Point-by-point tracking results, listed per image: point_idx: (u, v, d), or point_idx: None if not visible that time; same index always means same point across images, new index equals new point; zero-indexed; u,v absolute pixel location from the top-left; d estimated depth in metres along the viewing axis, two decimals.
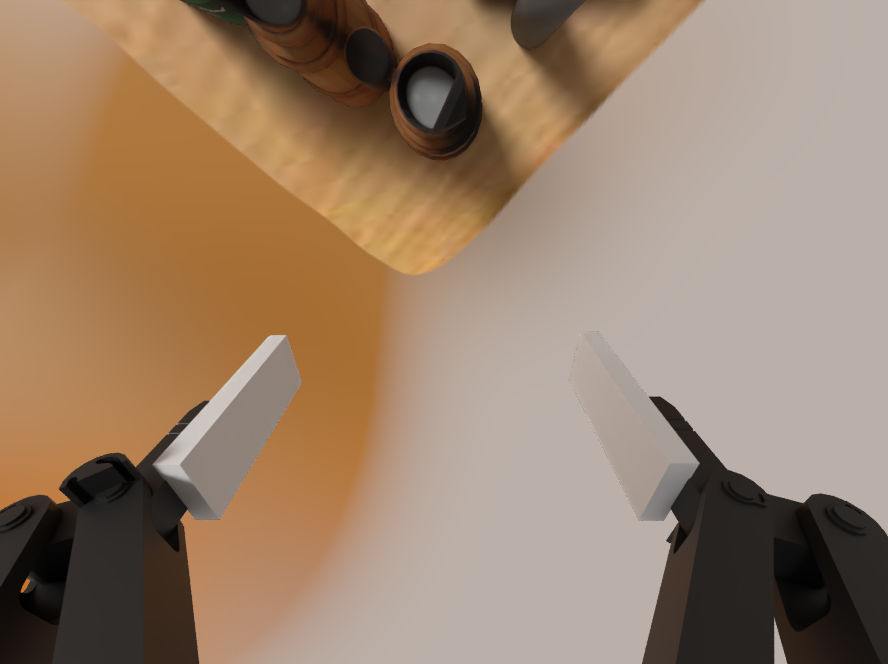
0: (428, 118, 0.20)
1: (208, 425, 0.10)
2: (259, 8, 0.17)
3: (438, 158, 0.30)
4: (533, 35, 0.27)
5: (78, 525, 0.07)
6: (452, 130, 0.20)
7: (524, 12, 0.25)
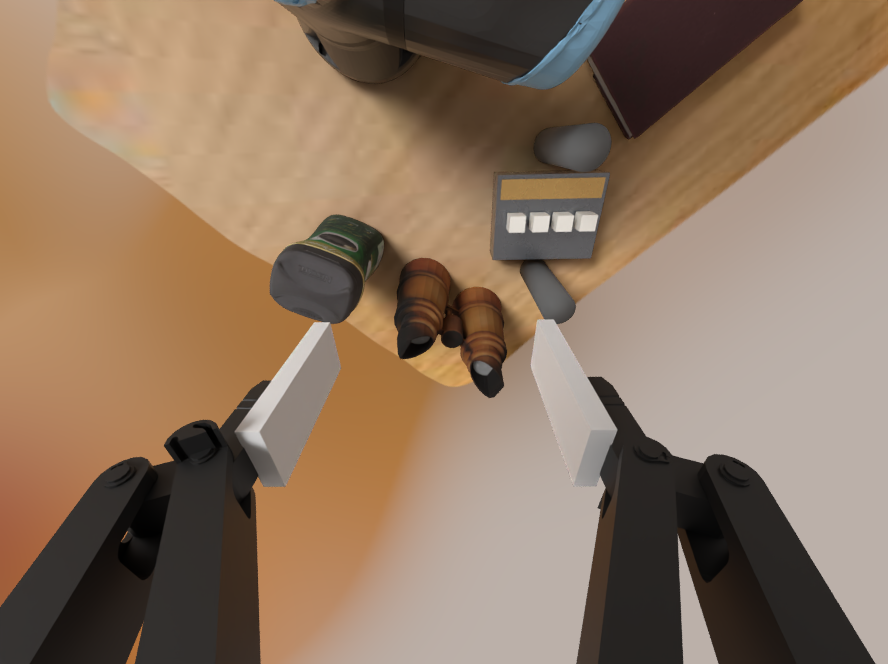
0: (482, 371, 0.41)
1: (276, 399, 0.11)
2: None
3: None
4: None
5: (175, 480, 0.08)
6: None
7: (528, 288, 0.46)
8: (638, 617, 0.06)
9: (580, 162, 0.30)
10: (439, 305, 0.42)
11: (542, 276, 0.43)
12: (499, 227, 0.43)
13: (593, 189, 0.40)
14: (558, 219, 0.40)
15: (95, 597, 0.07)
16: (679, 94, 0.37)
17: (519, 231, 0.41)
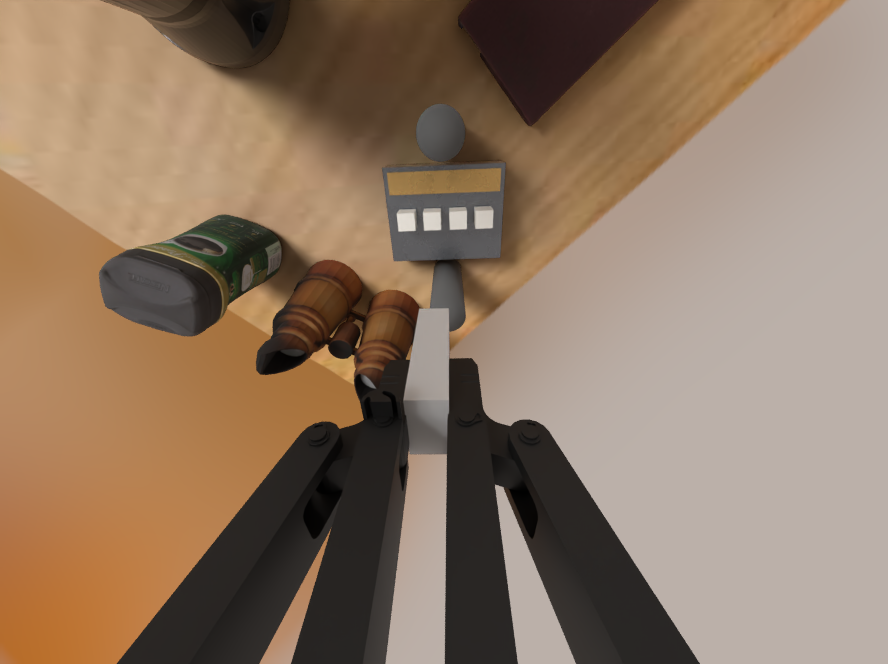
0: (373, 385, 0.38)
1: (424, 374, 0.12)
2: (285, 351, 0.35)
3: None
4: None
5: (361, 434, 0.09)
6: None
7: None
8: (472, 568, 0.06)
9: (434, 150, 0.26)
10: (325, 312, 0.38)
11: (441, 278, 0.39)
12: (394, 225, 0.39)
13: (489, 181, 0.37)
14: (450, 215, 0.36)
15: (282, 548, 0.07)
16: (573, 73, 0.33)
17: (409, 229, 0.37)
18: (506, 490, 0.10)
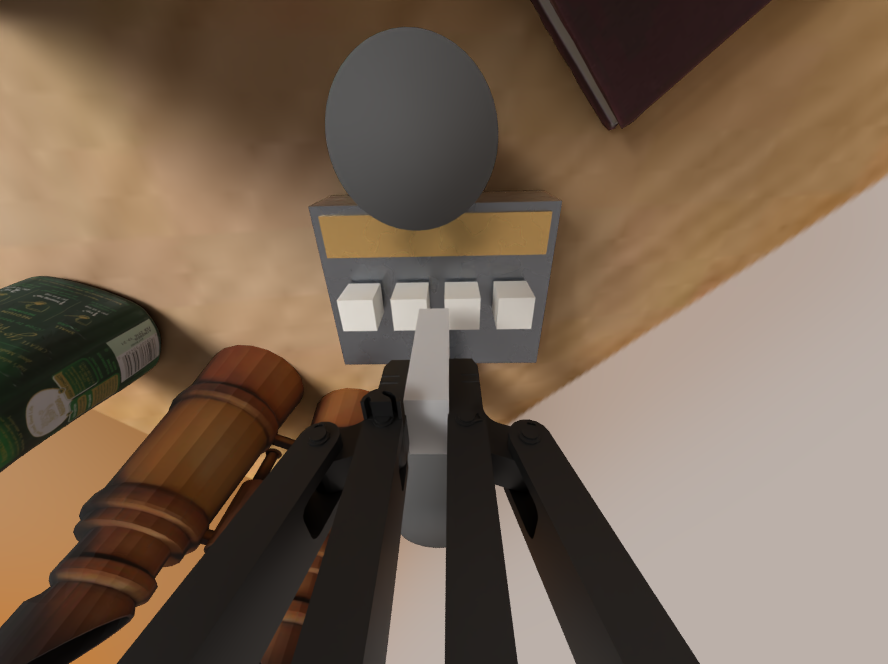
0: None
1: (424, 374, 0.12)
2: None
3: None
4: None
5: (360, 434, 0.09)
6: None
7: None
8: (472, 568, 0.06)
9: (393, 197, 0.08)
10: (198, 485, 0.19)
11: None
12: None
13: (526, 237, 0.18)
14: (446, 306, 0.18)
15: (282, 548, 0.07)
16: (733, 12, 0.14)
17: (365, 328, 0.19)
18: (506, 490, 0.10)
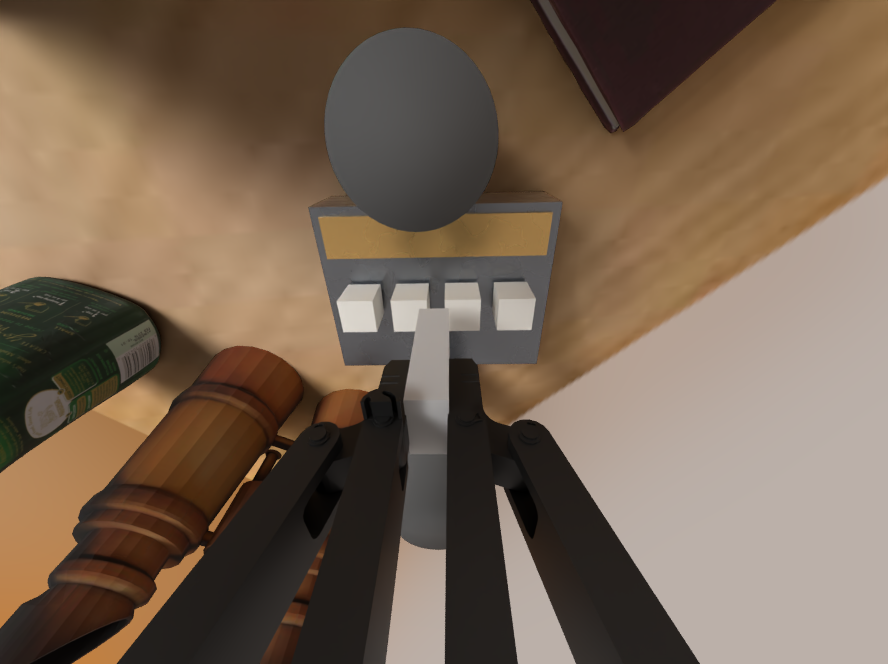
0: None
1: (424, 374, 0.12)
2: None
3: None
4: None
5: (361, 434, 0.09)
6: None
7: None
8: (472, 568, 0.06)
9: (392, 198, 0.08)
10: (198, 486, 0.19)
11: None
12: None
13: (527, 238, 0.18)
14: (446, 307, 0.18)
15: (282, 548, 0.07)
16: (735, 15, 0.14)
17: (365, 329, 0.19)
18: (506, 490, 0.10)
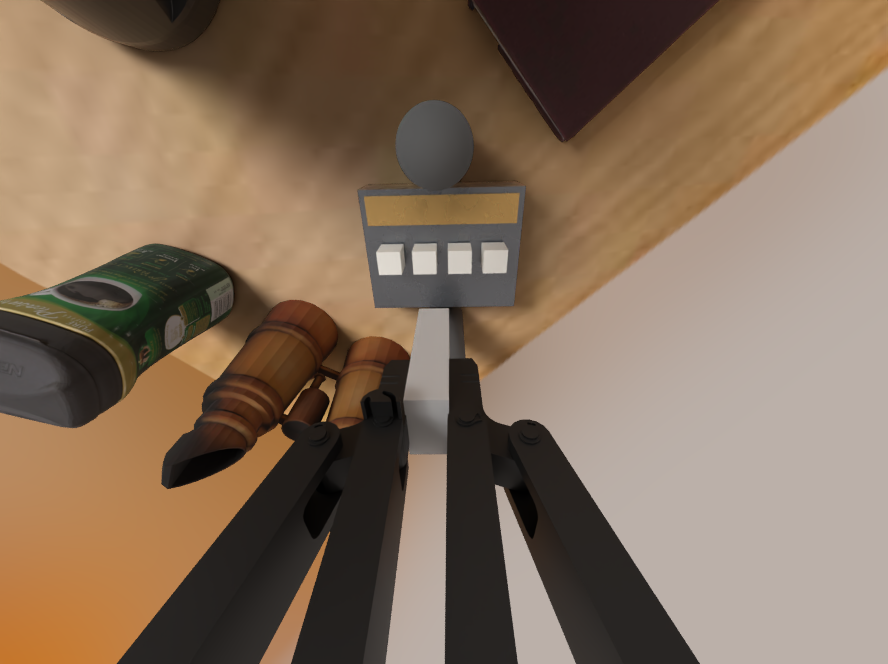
0: None
1: (424, 374, 0.12)
2: None
3: None
4: None
5: (361, 434, 0.09)
6: None
7: None
8: (472, 568, 0.06)
9: (424, 173, 0.17)
10: (278, 382, 0.28)
11: None
12: (375, 263, 0.30)
13: (503, 210, 0.27)
14: (449, 256, 0.27)
15: (282, 548, 0.07)
16: (628, 70, 0.23)
17: (394, 273, 0.27)
18: (506, 490, 0.10)
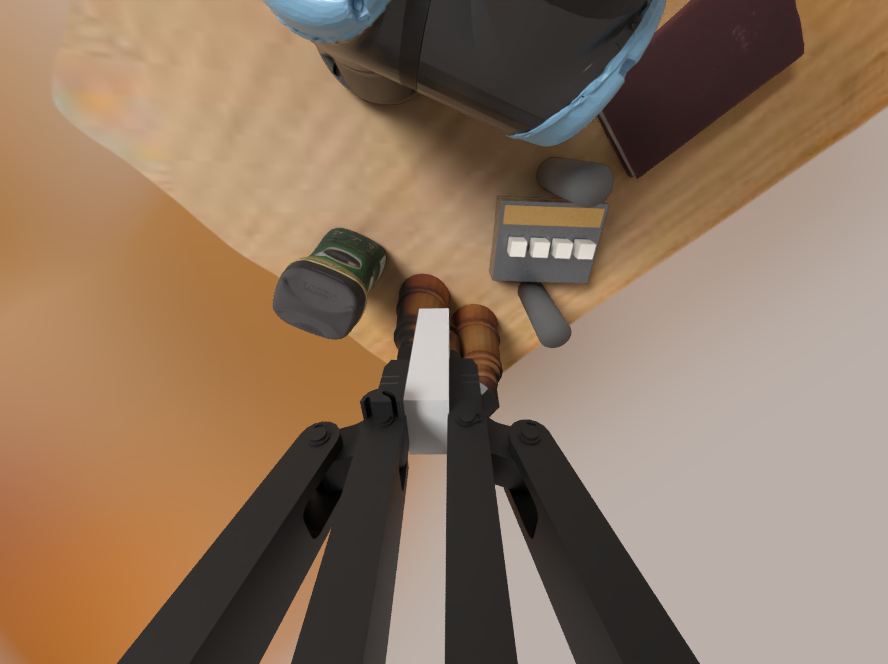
0: None
1: (424, 374, 0.12)
2: None
3: None
4: None
5: (361, 434, 0.09)
6: None
7: (525, 309, 0.47)
8: (472, 568, 0.06)
9: (583, 198, 0.32)
10: None
11: (539, 299, 0.44)
12: (500, 249, 0.44)
13: (592, 219, 0.42)
14: (558, 246, 0.41)
15: (282, 548, 0.07)
16: (680, 140, 0.39)
17: (520, 255, 0.42)
18: (506, 490, 0.10)
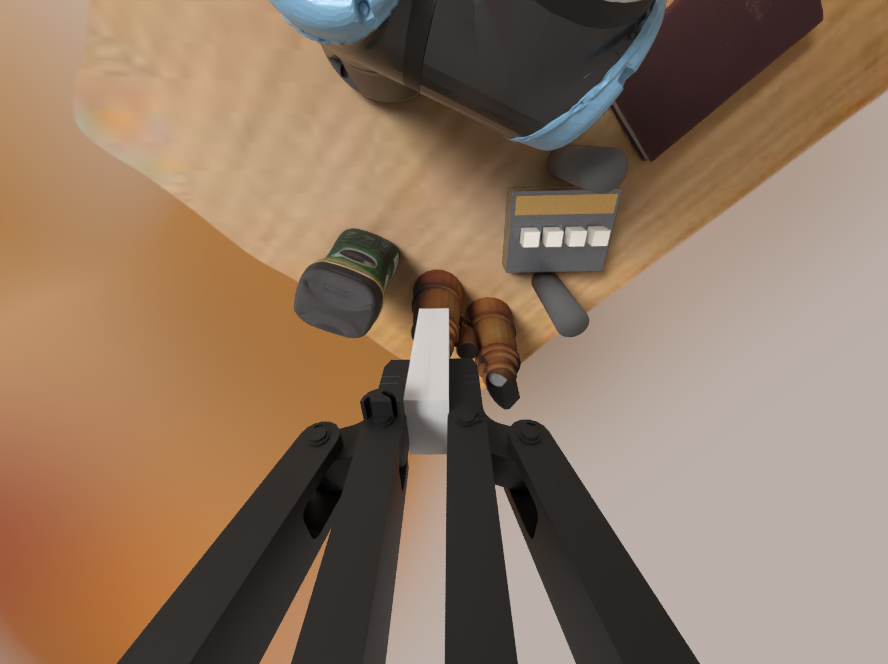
0: (497, 383, 0.42)
1: (424, 374, 0.12)
2: None
3: None
4: None
5: (360, 434, 0.09)
6: None
7: (540, 299, 0.47)
8: (472, 568, 0.06)
9: (597, 184, 0.31)
10: (455, 318, 0.43)
11: (554, 289, 0.44)
12: (513, 241, 0.44)
13: (605, 205, 0.41)
14: (571, 234, 0.41)
15: (282, 548, 0.07)
16: (694, 119, 0.38)
17: (533, 246, 0.42)
18: (506, 490, 0.10)
